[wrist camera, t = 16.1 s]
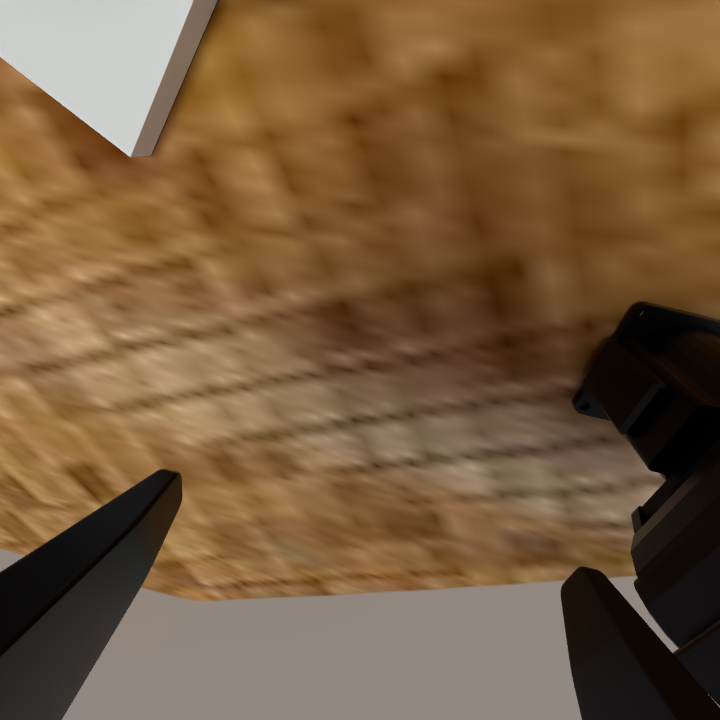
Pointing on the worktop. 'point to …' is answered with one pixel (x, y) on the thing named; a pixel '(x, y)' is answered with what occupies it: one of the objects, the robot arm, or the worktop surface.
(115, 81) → the plate
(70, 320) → the worktop surface
